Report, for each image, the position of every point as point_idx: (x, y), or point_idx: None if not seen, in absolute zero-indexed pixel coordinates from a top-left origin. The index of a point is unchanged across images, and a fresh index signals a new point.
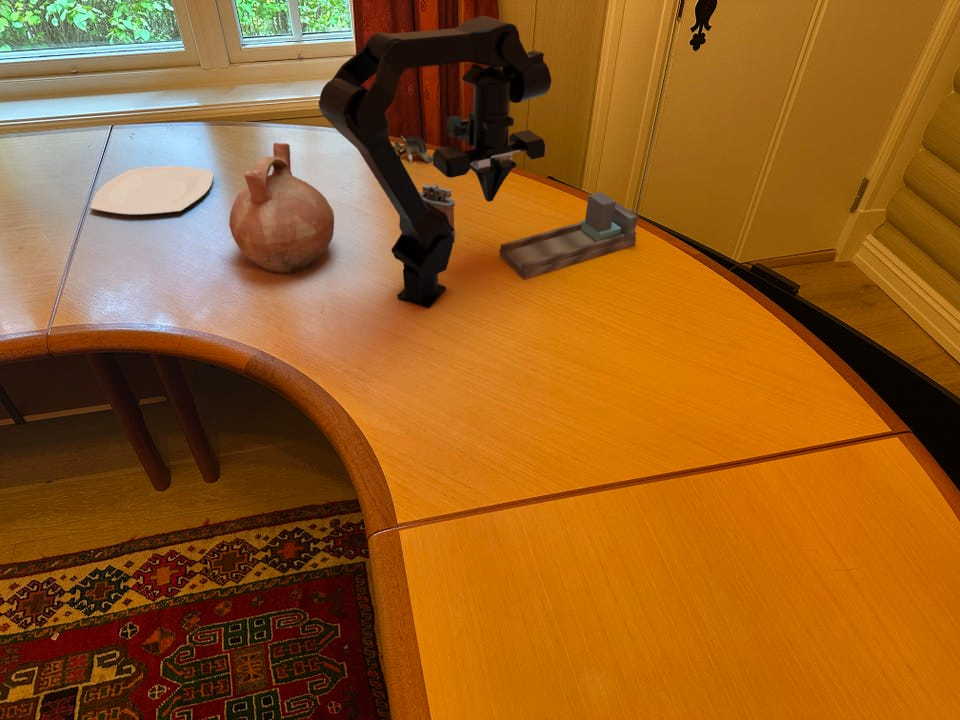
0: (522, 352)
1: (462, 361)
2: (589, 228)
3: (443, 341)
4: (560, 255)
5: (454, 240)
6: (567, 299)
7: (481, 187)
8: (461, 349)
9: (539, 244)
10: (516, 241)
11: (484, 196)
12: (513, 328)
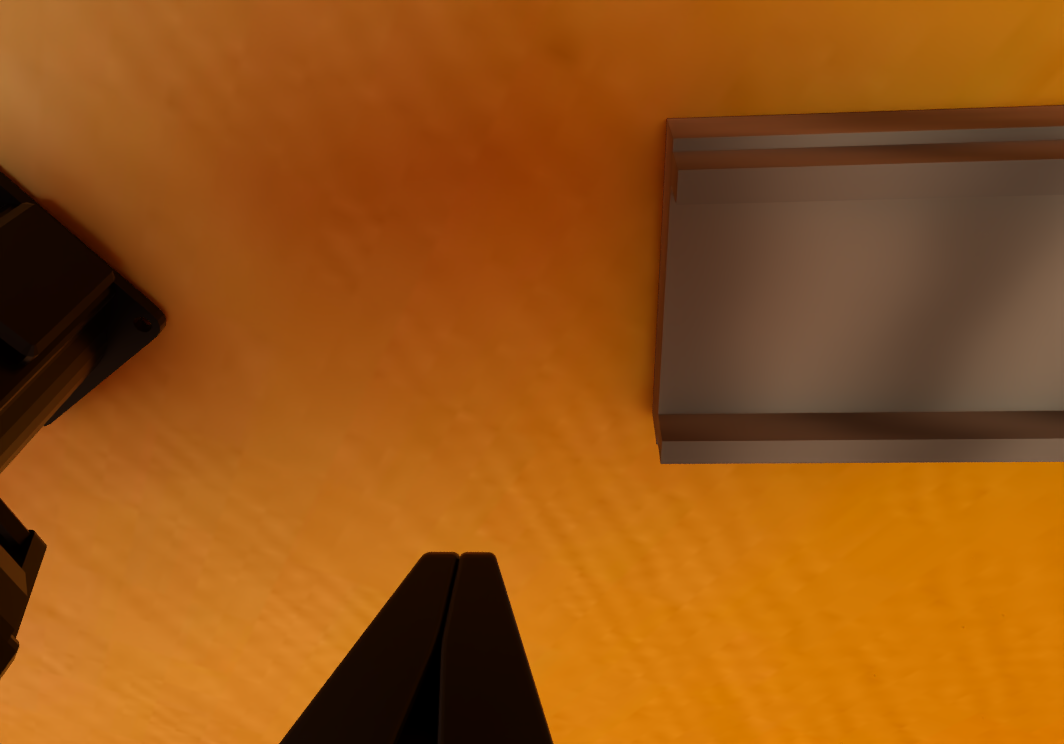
0: None
1: (156, 684)
2: None
3: (99, 596)
4: (953, 461)
5: (13, 655)
6: (735, 599)
7: (308, 714)
8: (164, 646)
9: (1000, 214)
10: (828, 183)
11: (399, 589)
12: None
